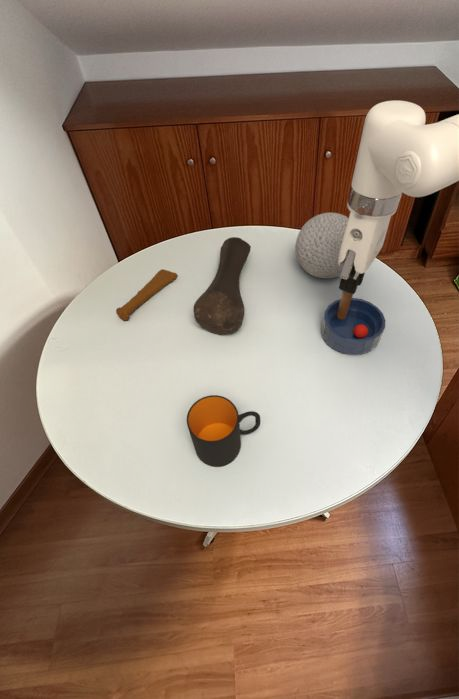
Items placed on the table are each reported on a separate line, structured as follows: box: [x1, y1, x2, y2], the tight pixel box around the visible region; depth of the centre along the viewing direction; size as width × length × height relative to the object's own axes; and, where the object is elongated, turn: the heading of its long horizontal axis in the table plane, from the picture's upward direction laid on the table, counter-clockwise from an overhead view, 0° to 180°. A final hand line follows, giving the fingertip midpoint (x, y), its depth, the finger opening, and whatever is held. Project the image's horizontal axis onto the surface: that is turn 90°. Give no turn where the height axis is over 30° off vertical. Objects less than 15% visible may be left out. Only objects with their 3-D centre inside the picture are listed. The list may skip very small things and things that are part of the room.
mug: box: [186, 394, 261, 468], centre depth 62 cm, size 8×12×10 cm
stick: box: [337, 268, 356, 320], centre depth 72 cm, size 2×2×14 cm
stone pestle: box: [193, 236, 252, 336], centre depth 87 cm, size 11×10×28 cm
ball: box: [353, 324, 368, 339], centre depth 78 cm, size 3×3×3 cm
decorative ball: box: [295, 212, 349, 279], centre depth 87 cm, size 15×15×15 cm
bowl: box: [320, 297, 386, 356], centre depth 78 cm, size 12×12×5 cm
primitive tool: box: [115, 269, 179, 322], centre depth 90 cm, size 19×6×4 cm, turn 152°
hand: (349, 286), depth 71 cm, fingers closed on stick, 2 cm apart
